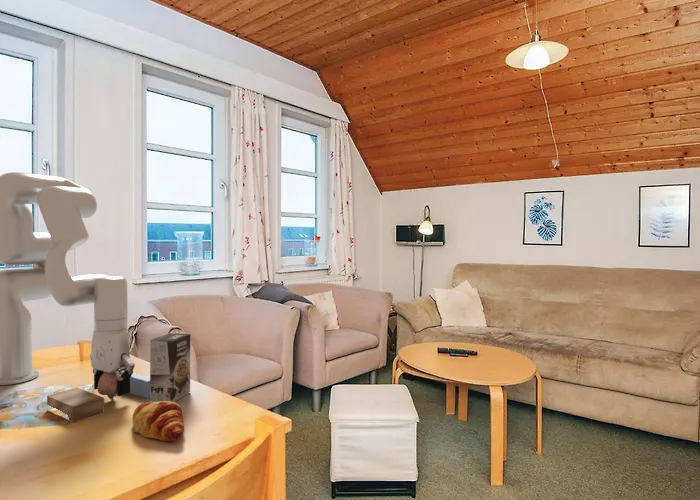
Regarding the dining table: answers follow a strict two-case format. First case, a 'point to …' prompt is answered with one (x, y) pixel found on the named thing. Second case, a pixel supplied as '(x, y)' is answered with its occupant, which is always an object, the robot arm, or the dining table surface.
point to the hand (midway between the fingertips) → (111, 391)
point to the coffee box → (169, 367)
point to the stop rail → (140, 385)
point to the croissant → (159, 420)
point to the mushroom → (108, 384)
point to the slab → (77, 403)
